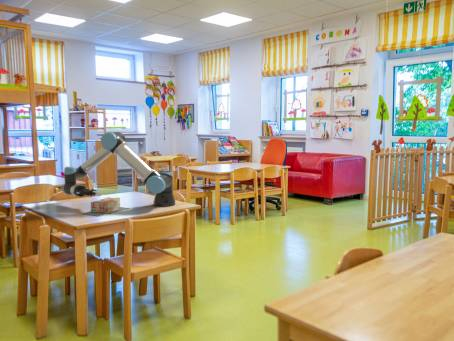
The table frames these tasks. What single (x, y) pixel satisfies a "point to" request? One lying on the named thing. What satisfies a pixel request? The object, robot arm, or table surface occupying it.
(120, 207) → the mat
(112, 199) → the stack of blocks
